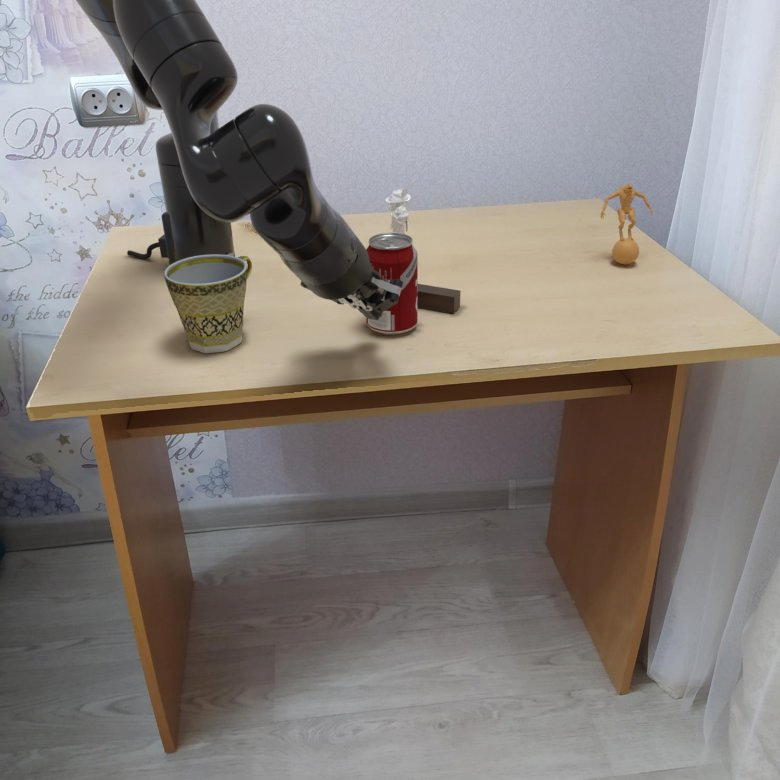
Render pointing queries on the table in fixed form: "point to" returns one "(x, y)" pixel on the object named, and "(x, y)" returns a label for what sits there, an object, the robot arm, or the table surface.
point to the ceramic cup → (210, 299)
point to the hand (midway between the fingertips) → (375, 312)
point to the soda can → (396, 262)
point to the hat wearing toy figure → (399, 210)
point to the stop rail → (438, 298)
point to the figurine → (624, 248)
